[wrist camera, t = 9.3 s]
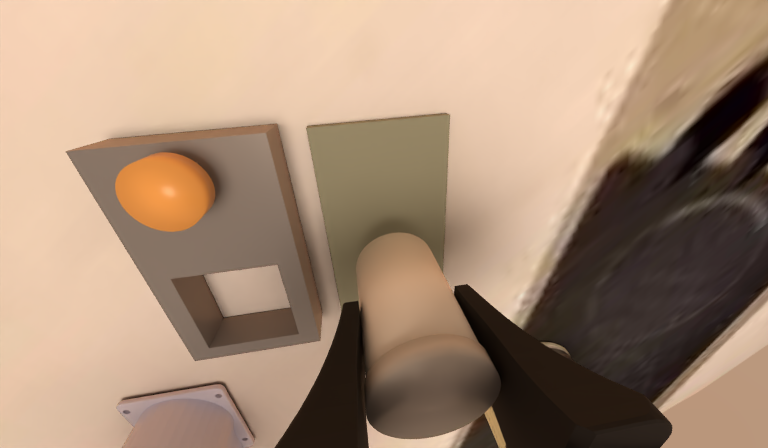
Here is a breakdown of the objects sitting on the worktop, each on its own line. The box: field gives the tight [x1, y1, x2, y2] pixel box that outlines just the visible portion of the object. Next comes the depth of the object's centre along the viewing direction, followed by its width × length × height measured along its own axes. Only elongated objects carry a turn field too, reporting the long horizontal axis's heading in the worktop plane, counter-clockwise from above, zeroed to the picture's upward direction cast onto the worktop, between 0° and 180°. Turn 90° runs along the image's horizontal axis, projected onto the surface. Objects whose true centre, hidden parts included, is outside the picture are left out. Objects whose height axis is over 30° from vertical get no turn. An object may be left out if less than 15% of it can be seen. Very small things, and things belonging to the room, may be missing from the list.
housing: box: [66, 124, 322, 361], centre depth 16 cm, size 14×8×2 cm, turn 4°
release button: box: [115, 152, 215, 232], centre depth 12 cm, size 3×3×4 cm
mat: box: [306, 113, 450, 311], centre depth 18 cm, size 15×8×1 cm, turn 4°
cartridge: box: [356, 232, 501, 439], centre depth 13 cm, size 5×5×8 cm
